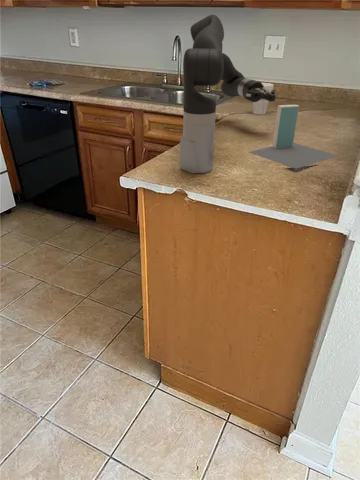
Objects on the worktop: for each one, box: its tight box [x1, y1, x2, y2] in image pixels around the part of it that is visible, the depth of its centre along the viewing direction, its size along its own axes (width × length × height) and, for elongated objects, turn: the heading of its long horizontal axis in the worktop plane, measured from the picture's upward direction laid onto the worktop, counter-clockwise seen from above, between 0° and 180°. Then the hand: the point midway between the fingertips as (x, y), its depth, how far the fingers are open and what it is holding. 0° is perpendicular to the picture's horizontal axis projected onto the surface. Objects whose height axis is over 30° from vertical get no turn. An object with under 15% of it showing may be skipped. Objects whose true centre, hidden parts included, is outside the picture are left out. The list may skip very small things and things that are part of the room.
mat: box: [249, 142, 339, 173], centre depth 128 cm, size 22×20×1 cm
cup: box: [252, 82, 274, 116], centre depth 184 cm, size 10×10×14 cm
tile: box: [271, 104, 300, 148], centre depth 131 cm, size 2×7×14 cm, turn 108°
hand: (273, 98), depth 135 cm, fingers closed
